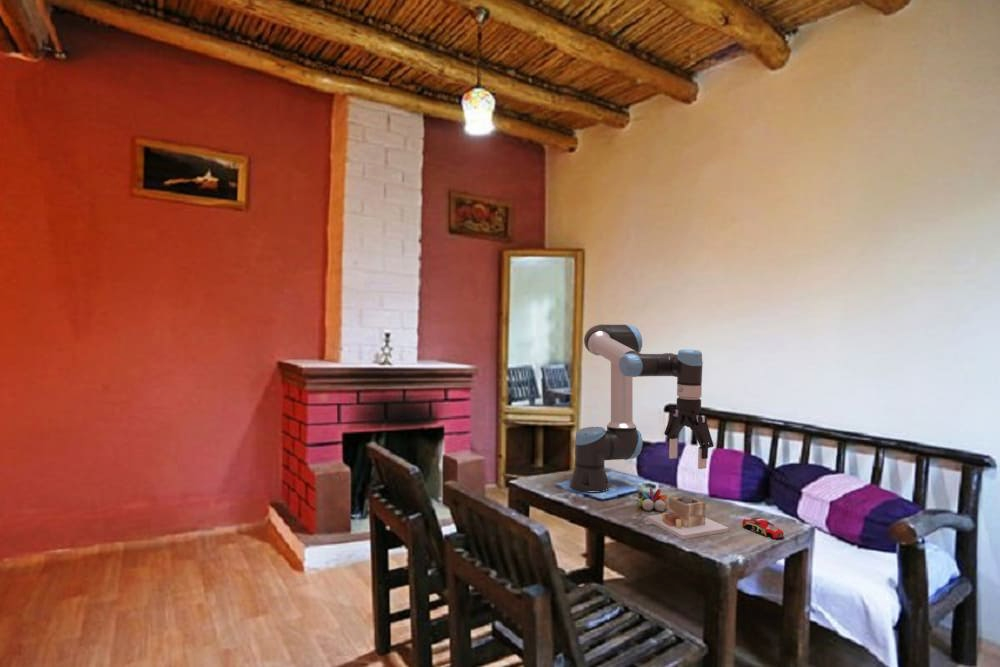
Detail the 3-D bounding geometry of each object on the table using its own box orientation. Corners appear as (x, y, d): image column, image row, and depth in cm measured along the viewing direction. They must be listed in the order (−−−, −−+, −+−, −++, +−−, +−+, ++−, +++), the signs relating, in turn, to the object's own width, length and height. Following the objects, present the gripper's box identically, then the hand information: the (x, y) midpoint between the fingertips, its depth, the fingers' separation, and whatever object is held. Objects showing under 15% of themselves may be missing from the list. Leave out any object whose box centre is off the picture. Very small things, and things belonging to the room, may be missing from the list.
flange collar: (687, 516, 188) (688, 495, 188) (705, 524, 181) (705, 502, 181) (659, 520, 184) (660, 499, 184) (676, 529, 177) (676, 506, 176)
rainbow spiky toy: (668, 513, 195) (669, 492, 195) (639, 511, 197) (640, 490, 197) (666, 506, 203) (666, 485, 203) (638, 503, 205) (639, 484, 205)
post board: (646, 519, 188) (646, 492, 188) (689, 513, 195) (689, 487, 195) (683, 539, 171) (683, 509, 171) (728, 531, 178) (729, 502, 178)
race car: (787, 539, 174) (787, 526, 173) (775, 542, 171) (775, 529, 171) (751, 525, 185) (751, 512, 185) (739, 527, 183) (740, 515, 183)
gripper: (654, 393, 193) (653, 455, 193) (707, 404, 169) (705, 474, 170) (672, 392, 195) (670, 453, 196) (727, 402, 172) (724, 472, 173)
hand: (687, 463), depth 183 cm, fingers open, 13 cm apart
